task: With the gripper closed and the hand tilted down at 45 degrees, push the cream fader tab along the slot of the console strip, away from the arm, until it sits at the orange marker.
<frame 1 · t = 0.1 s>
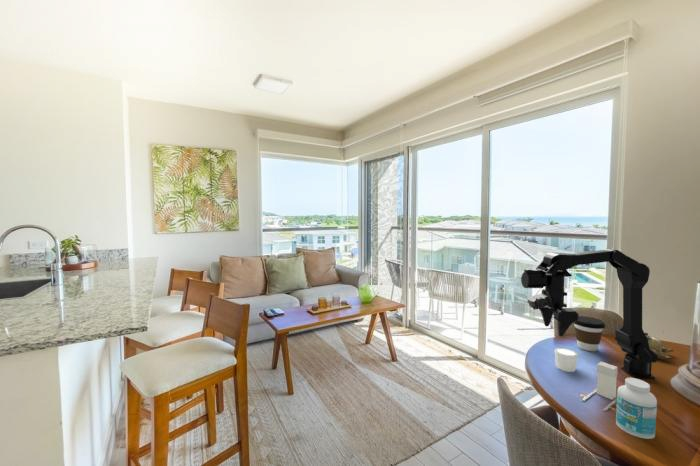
hand: (553, 330, 109), 15 cm above the table, tool pointing down, fingers open, 9 cm apart
pill bottle: (634, 433, 78), on the table
white cylinder: (565, 371, 109), on the table
coffee cup: (587, 348, 127), on the table
console: (603, 401, 91), on the table
fader tab: (606, 380, 92), point 6 cm above the table, slide at 0.0 cm
ceramic sculpture: (646, 354, 121), on the table
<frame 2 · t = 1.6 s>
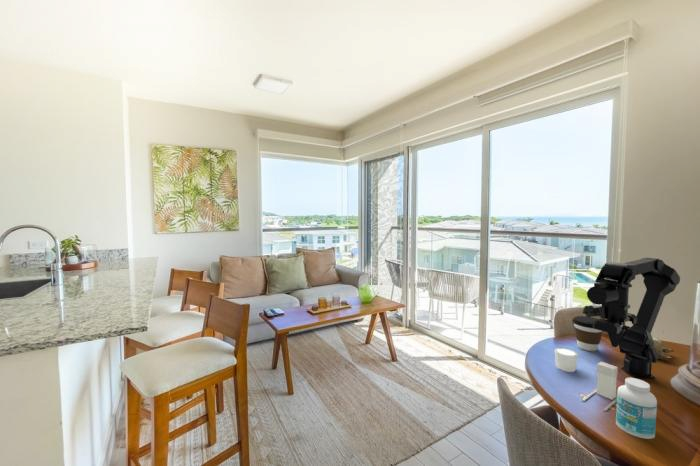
hand: (614, 346, 101), 12 cm above the table, tool pointing down, fingers closed
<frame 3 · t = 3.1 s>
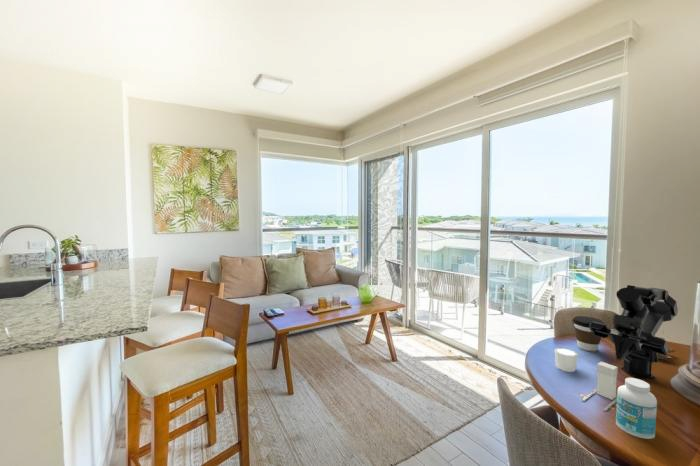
hand: (618, 359, 96), 10 cm above the table, tool tilted 45°, fingers closed
nothing on the table moved.
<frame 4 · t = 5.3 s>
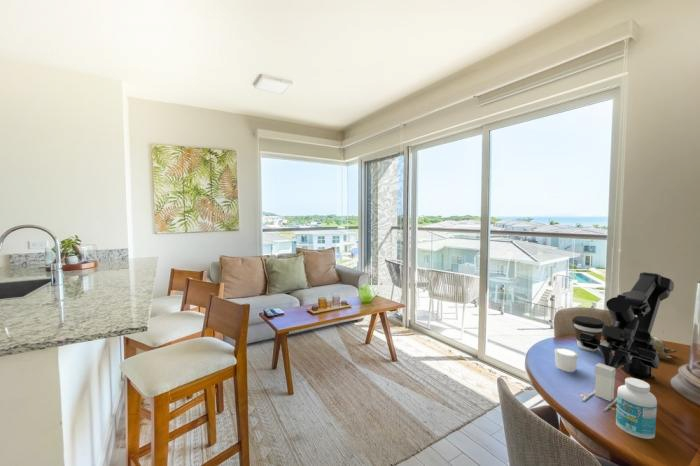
hand: (607, 372, 92), 8 cm above the table, tool tilted 45°, fingers closed, pressing on fader tab
fader tab: (604, 381, 91), point 6 cm above the table, slide at 1.4 cm, touching gripper
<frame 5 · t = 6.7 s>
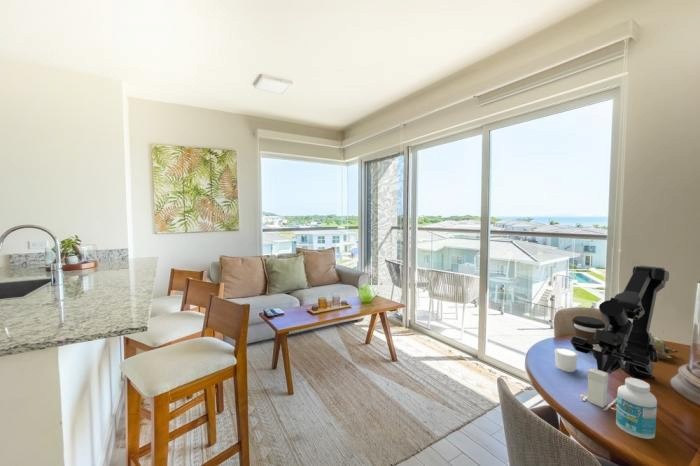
hand: (600, 378, 89), 8 cm above the table, tool tilted 45°, fingers closed, pressing on fader tab
fader tab: (597, 387, 88), point 6 cm above the table, slide at 6.7 cm, touching gripper
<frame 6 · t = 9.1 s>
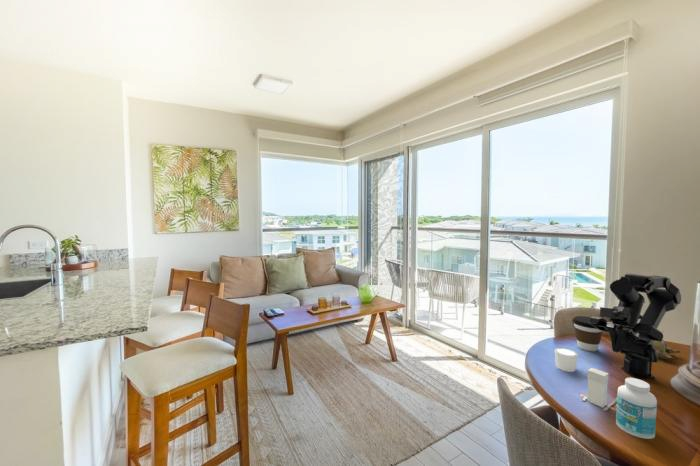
hand: (615, 351, 97), 12 cm above the table, tool tilted 35°, fingers closed
fader tab: (597, 387, 88), point 6 cm above the table, slide at 6.7 cm
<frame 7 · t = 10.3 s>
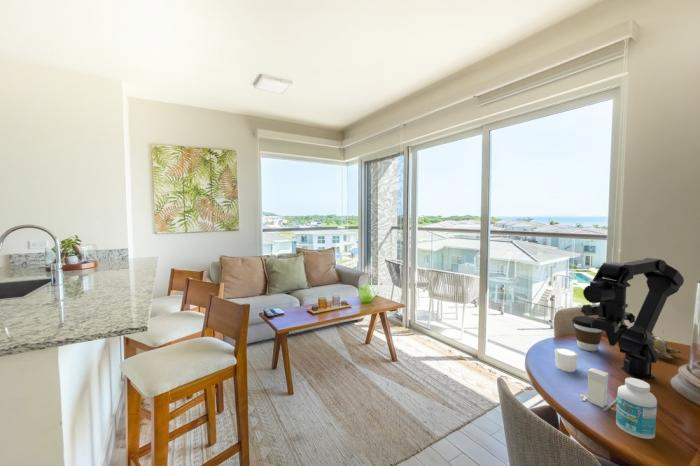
hand: (612, 345, 102), 12 cm above the table, tool pointing down, fingers closed
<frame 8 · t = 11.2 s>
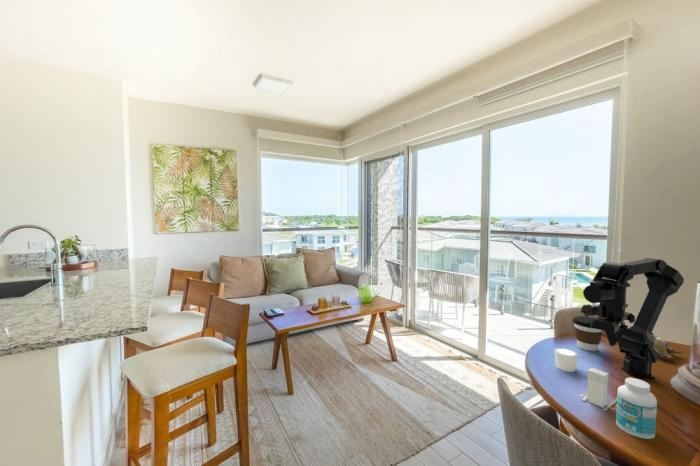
hand: (612, 345, 102), 12 cm above the table, tool pointing down, fingers closed
at the end: fader tab slide at 6.7 cm; fader tab touching nothing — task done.
